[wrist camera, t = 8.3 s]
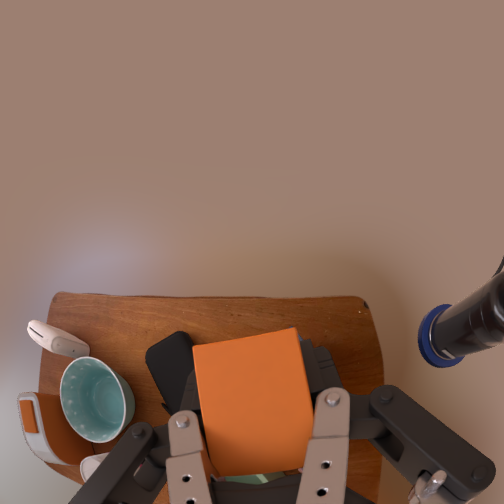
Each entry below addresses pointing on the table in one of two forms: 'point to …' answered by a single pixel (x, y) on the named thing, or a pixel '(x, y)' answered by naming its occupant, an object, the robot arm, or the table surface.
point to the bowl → (96, 399)
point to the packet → (254, 403)
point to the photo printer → (57, 340)
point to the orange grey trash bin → (51, 430)
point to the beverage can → (94, 465)
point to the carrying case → (171, 368)
